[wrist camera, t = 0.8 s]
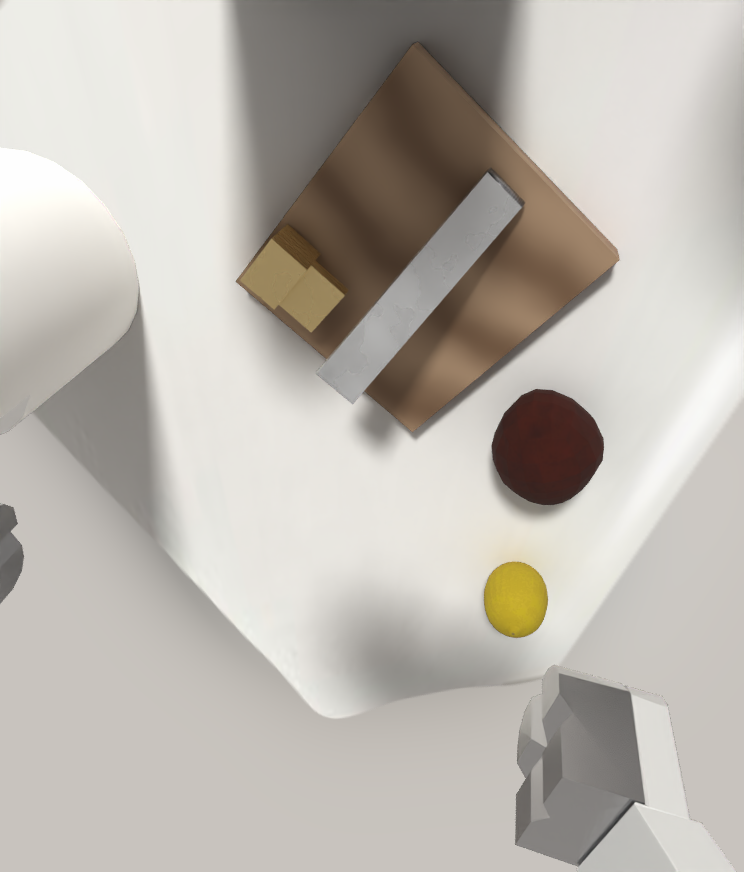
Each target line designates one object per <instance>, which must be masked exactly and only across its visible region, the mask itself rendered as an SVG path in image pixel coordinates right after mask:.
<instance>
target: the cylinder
mask: <svg viewBox="0 0 744 872" xmlns="http://www.w3.org/2000/svg"><path fill="white" fill-rule="evenodd" d="M138 295H139V283H138V277H137V271H136V265H135V260H134V258H133V255H132V253H131V250H130V248H129V245H128V243H127V240H126V238H125V236H124V233H123V231H122V230H121V228H120V227H119V225H118V224H117V222H116V221H115V219H114V218H113V216H112V215H111V213H110V212H109V210H108V209H107V207H106V206H105V204H104V203H103V202H102V201H101V200H100V199H99V198H98V197H97V196H96V195H95V194H94V193H93V192H92V191H91V190H90V189H89V188H88V187H87V186H86V185H85V184H84V183H83V182H82V181H81V180H80V179H78V178H77V177H75V176H74V175H72V174H71V173H70V172H68V171H67V170H65V169H64V168H62V167H61V166H59V165H58V164H56V163H55V162H53V161H50V160H48V159H45V158H43V157H40V156H38V155H35V154H33V153H30V152H28V151H22V150H13V149H4V148H0V435H1V434H3V433H6V432H8V431H10V430H11V429H12V428H13V427H15V426H16V425H17V424H18V423H20V422H21V421H22V420H23V419H24V418H25V417H27V416H28V415H29V414H31V413H32V412H33V411H34V410H35V409H37V408H38V407H39V406H40V405H41V404H43V403H44V402H45V401H46V400H48V399H49V398H50V397H51V396H52V395H54V394H55V393H56V392H57V391H58V390H60V389H61V388H62V387H63V386H65V385H66V384H67V383H68V382H69V381H71V380H72V379H73V378H74V377H75V376H77V375H78V374H79V373H80V372H82V371H83V370H84V369H85V368H86V367H88V366H89V365H90V364H91V363H93V362H94V361H95V360H96V359H97V358H99V357H100V356H101V355H102V354H103V353H105V352H106V351H107V350H108V349H110V348H111V347H112V346H113V345H114V344H116V343H117V341H118V340H119V339H120V338H121V337H122V336H123V335H124V334H125V333H126V332H127V331H128V330H129V328H130V326H131V324H132V321H133V319H134V317H135V314H136V312H137V306H138Z"/></svg>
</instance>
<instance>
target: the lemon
mask: <svg viewBox="0 0 744 872" xmlns="http://www.w3.org/2000/svg"><path fill="white" fill-rule="evenodd" d="M484 605H485V611H486V614H487V617H488V619H489V621H490V623H491V624H492V625H493V627H494V628H495V629H496V630H498V631H499V632H500V633H502V634H504V635H506V636H509V637H514V638H520V637H525V636H528V635H530V634H532V633H533V632H534V631H536V630H537V629H538V628H539V626H540V625H541V623H542V622H543V620H544V617H545V613H546V610H547V605H548V596H547V589H546V585H545V583H544V581H543V579H542V577H541V575H540V574H539V573H538V572H537V571H536V570H535V569H534V568H532V567H531V566H530V565H527V564H525V563H521V562H508V563H505V564H502V565H500V566H499V567H497V568H496V569H495V570H494V571H493V572H492V574H491V575H490V576H489V578H488V581H487V583H486V586H485V591H484Z"/></svg>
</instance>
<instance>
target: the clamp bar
mask: <svg viewBox="0 0 744 872" xmlns="http://www.w3.org/2000/svg"><path fill="white" fill-rule="evenodd" d="M524 204H525V201H524V200H523V199H522V198H521V197H520V196H519V195H518V194H517V193H516V192H515V191H514V190H513V189H512V188H511V187H510V186H509V185H508V184H507V183H506V182H505V181H504V180H503V179H502V178H501V177H500V176H499V175H498V174H497V173H496V172H495V171H494V170H493V169H492V168H491V167H490V168H489V169H488V170H487V171H486V172H485V173H484V174H483V176H482V177H481V178H480V179H479V180H478V182H477V183H476V184H475V185H474V186H473V187H472V189H471V190H470V191H469V192H468V193H467V194H466V196H465V197H464V198H463V199H462V200H461V202H460V203H459V204H458V205H457V206H456V207H455V209H454V210H453V211H452V212H451V213H450V215H449V216H448V217H447V218H446V219H445V220H444V222H443V223H442V224H441V225H440V226H439V227H438V229H437V230H436V231H435V232H434V233H433V235H432V236H431V237H430V238H429V239H428V240H427V242H426V243H425V244H424V245H423V246H422V247H421V249H420V250H419V251H418V252H417V253H416V255H415V256H414V257H413V258H412V259H411V260H410V262H409V263H408V264H407V265H406V266H405V268H404V269H403V270H402V271H401V272H400V273H399V275H398V276H397V277H396V278H395V279H394V280H393V282H392V283H391V284H390V285H389V286H388V288H387V289H386V290H385V291H384V292H383V293H382V295H381V296H380V297H379V298H378V299H377V301H376V302H375V303H374V304H373V305H372V306H371V308H370V309H369V310H368V311H367V312H366V313H365V315H364V316H363V317H362V318H361V319H360V321H359V322H358V323H357V324H356V325H355V326H354V328H353V329H352V330H351V331H350V332H349V333H348V335H347V336H346V337H345V338H344V339H343V341H342V342H341V343H340V344H339V345H338V346H337V348H336V349H335V350H334V351H333V352H332V354H331V355H330V356H329V357H328V358H327V359H326V361H325V362H324V363H323V364H322V365H321V366H320V368H319V369H318V370H317V371H316V374H317V375H318V376H320V377H321V378H322V379H323V380H324V381H325V382H327V383H328V384H329V385H330V386H331V387H333V388H334V389H335V390H336V391H337V392H339V393H340V394H341V395H342V396H343V397H344V398H346V399H347V400H348V401H349V402H350V403H352V404H353V403H354V402H355V401H356V400H357V399H358V397H359V396H360V395H361V394H362V393H363V392H364V390H365V389H366V388H367V387H368V386H369V385H370V383H371V382H372V381H373V380H374V379H375V378H376V377H377V375H378V374H379V373H380V372H381V371H382V370H383V368H384V367H385V366H386V365H387V364H388V363H389V361H390V360H391V359H392V358H393V357H394V356H395V354H396V353H397V352H398V351H399V350H400V349H401V347H402V346H403V345H404V344H405V343H406V342H407V340H408V339H409V338H410V337H411V336H412V335H413V333H414V332H415V331H416V330H417V329H418V328H419V327H420V325H421V324H422V323H423V322H424V321H425V320H426V318H427V317H428V316H429V315H430V314H431V313H432V311H433V310H434V309H435V308H436V307H437V306H438V304H439V303H440V302H441V301H442V300H443V299H444V297H445V296H446V295H447V294H448V293H449V292H450V290H451V289H452V288H453V287H454V286H455V285H456V283H457V282H458V281H459V280H460V279H461V278H462V277H463V275H464V274H465V273H466V272H467V271H468V270H469V268H470V267H471V266H472V265H473V264H474V263H475V261H476V260H477V259H478V258H479V257H480V256H481V254H482V253H483V252H484V251H485V250H486V249H487V247H488V246H489V245H490V244H491V243H492V242H493V240H494V239H495V238H496V237H497V236H498V235H499V233H500V232H501V231H502V230H503V229H504V228H505V227H506V225H507V224H508V223H509V222H510V221H511V220H512V218H513V217H514V216H515V215H516V214H517V213H518V211H519V210H520V209H521V208H522V207H523V205H524Z"/></svg>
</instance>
